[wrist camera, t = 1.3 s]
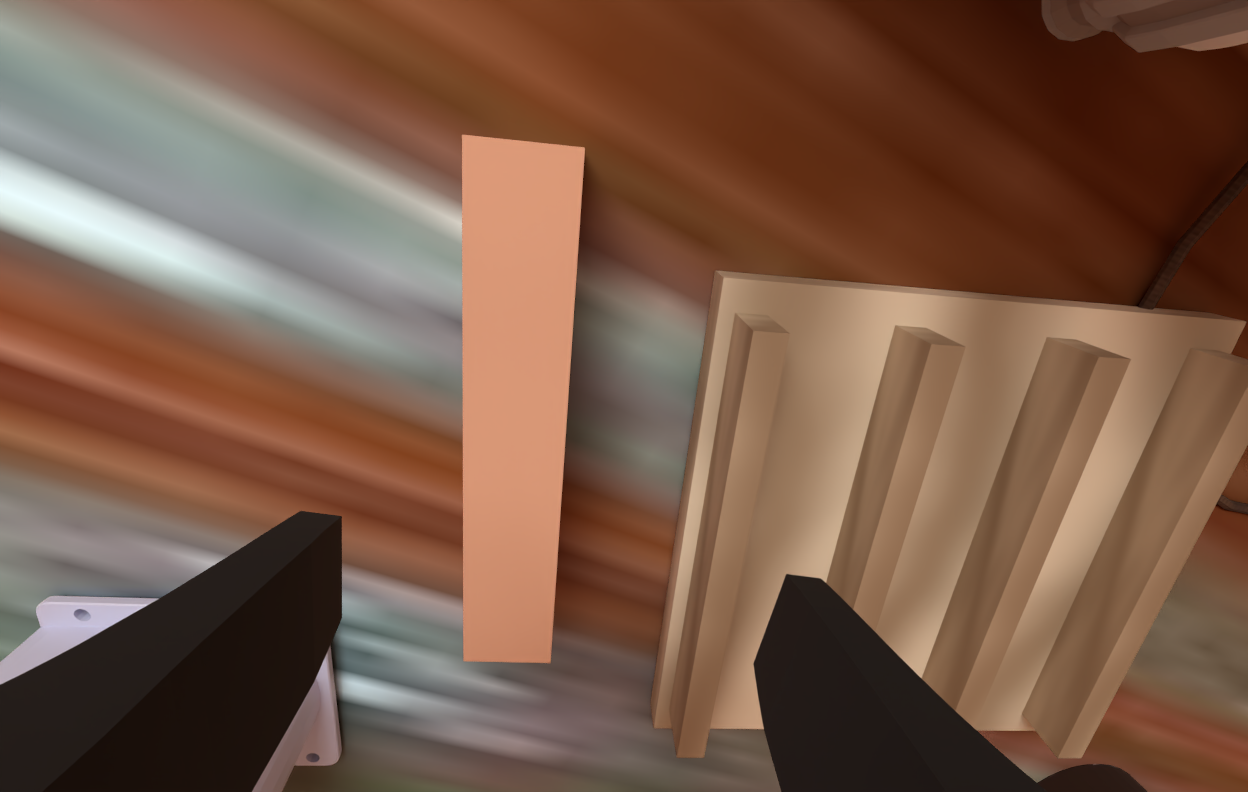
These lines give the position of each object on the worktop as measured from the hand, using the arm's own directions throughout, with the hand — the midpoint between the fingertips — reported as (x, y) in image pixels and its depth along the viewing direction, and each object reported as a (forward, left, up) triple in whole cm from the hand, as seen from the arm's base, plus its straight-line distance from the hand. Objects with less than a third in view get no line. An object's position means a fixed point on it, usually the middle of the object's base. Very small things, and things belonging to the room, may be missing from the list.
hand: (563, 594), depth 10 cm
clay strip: (-1, 0, -11) cm, 11 cm away
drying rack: (+13, -5, -10) cm, 17 cm away
